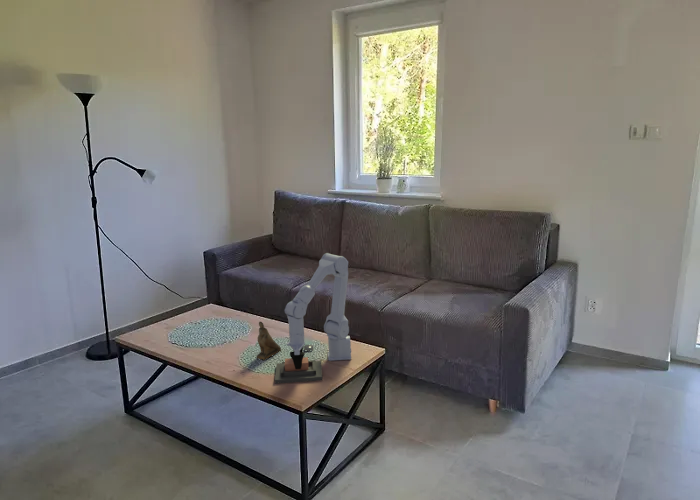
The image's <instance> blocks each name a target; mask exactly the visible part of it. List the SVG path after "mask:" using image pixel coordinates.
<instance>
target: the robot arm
mask: <svg viewBox="0 0 700 500" xmlns="http://www.w3.org/2000/svg"><path fill="white" fill-rule="evenodd" d="M327 275H332V276H334V281H333V291H332V298H331V299H332V300H331V309H330V313H329V314H328V315H327V316H326V320H325V322H324V324H323V331H324V333H326V336H327V337H328V338H327V341H328V343H327V344H328V346H327V347H328V351H327V359H328V361H347V360H352V347H351V345H352V343H351V337H350V335H348V334H349V332H350V327H349V320H348V319H347V317H346V316H345V307H346V300H347V292H348V291H347V289H348V281H349V260H347V258H346V257H345V256H343V255H336V254H331V253H329V252H326V253H324V254H322V257H321V258H320V260H319V261H318V267H316V270H315V271H314V273H313V275H312V276H311V278H310V280H309V282H308V283H307V284H305V285H303V286H301V287H300V288H299V291H298V293H297V294H296V295H295V296H294V297H293V299H292V300H290V301H289V302H288V303H287V304H286V305H285V308H284V314H286V316H287V319H288V321H287V322H288V333H289V335H288V336H289V341H288V342H287V341H286V346H288V347H290V348H291V349H292V351H290V352H289V356H290V358H292V359H293V362H294V366H295V369H301V367H302V360H303V357H305V354H306V351H303V349H304V346H306V341H305V327H304V326H305V325H304V323H305V322H304V317H305V316H306V314H307V308H308V306H309V304H310V303H311V301H312V299H313V298H314V297H315V295H316V289H317V287H318V286H319V285H320V284H321V283H322V281H323V280H324V279H325V278H326V277H327Z"/></svg>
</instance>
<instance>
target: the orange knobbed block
mask: <svg viewBox="0 0 700 500" xmlns="http://www.w3.org/2000/svg"><path fill="white" fill-rule="evenodd" d="M308 361H309V357H307V356H306V357H305V356H304V357H303V360H302V367H301V369H295V366H294V362H293V359H292V358H291V357H290V358H285V359H284V362H285V371H299V370H309V366H308Z"/></svg>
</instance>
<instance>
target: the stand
mask: <svg viewBox="0 0 700 500" xmlns="http://www.w3.org/2000/svg"><path fill="white" fill-rule="evenodd" d="M308 366H309V370H299V371H285V361H281V363H276V367H275V373H274V374H275V376H274V384H289V383H304V382H317V381H323V369H322V360H316V359H311V360H309V359H308Z"/></svg>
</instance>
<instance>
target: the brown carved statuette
mask: <svg viewBox="0 0 700 500" xmlns="http://www.w3.org/2000/svg"><path fill="white" fill-rule="evenodd" d="M258 327H259V328H258V336H257V343H258V346H259V349H260V352H259V353H258V354H257V355H256V359H258V358H259V359H258V360H261V359H263V360H262V361H265V359H266V360H268V359H270V358H271V357H273V356H275V355H277V354H279V353H280V352H281V351H282V348H281V346H280V345H279V344H278V343H277V342H276V341H275V340H274V338H272V336H271V335H270V332H269V330H268V328H266V327H265V324H264V323H263V321H259V322H258ZM279 351H280V352H279ZM276 353H277V354H276ZM274 354H275V355H274ZM272 355H273V356H272ZM270 356H271V357H270ZM269 357H270V358H269ZM267 358H268V359H267Z"/></svg>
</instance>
